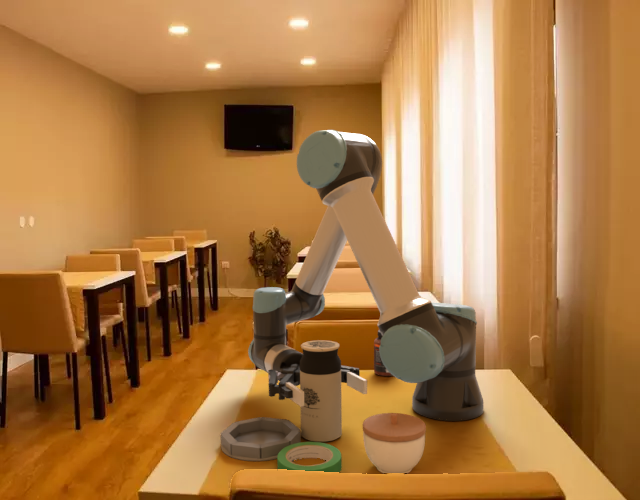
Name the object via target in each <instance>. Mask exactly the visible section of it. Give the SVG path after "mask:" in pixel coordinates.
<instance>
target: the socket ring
mask: <svg viewBox="0 0 640 500" xmlns="http://www.w3.org/2000/svg"><path fill="white" fill-rule="evenodd" d="M301 437H302V436H301V428H300V427H298V426H297V425H296V424H294V423H293V422H291V421H290V420H289V419H286V418H285V419H283V418H276V417H275V418H272V417H267V416H261V417H260V416H259V417H258V416H257V417H254V418H248V419H243V420H240V421H234V422H232V423H231V424H229V426H227V427H226V428H225V429H224V430H223V431H221V432H220V450H221V451H222V452H223V454H225V455H226V456H228V457H230V458H232V459H235V460H240V461H247V462H264V461H265V462H268V461H273V460H277V456H278V453H279V452H280V451H281V450H282V449H283V448H285V447H287V446H289V445H292V444H296V443H301V440H302V439H301Z"/></svg>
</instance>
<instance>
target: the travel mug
mask: <svg viewBox="0 0 640 500" xmlns="http://www.w3.org/2000/svg"><path fill="white" fill-rule="evenodd" d="M300 347H301V348H300V349H301V350H302V354H303V356H302V358H301V360H300V385H299V389H301V390H302V391H304V406H302V407H301V406H300V433H301V437H302V438H304V439H305V440H308V441H309V442H321V443H327V442H328V443H329V442H333V441H334V440H337V439H338V438H340V437H341V436H342V435H343V433H342V431H343V429H342V428H343V427H342V426H343V424H342V422H343V421H342V420H343V419H342V383H341V365H342V360H341V358H340V356H339V354H338V352H339V348H340V343H338V342H337V341H332V340H322V339H320V340H319V339H317V340H310V341H309V340H308V341H306V342H302V344H300Z"/></svg>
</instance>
